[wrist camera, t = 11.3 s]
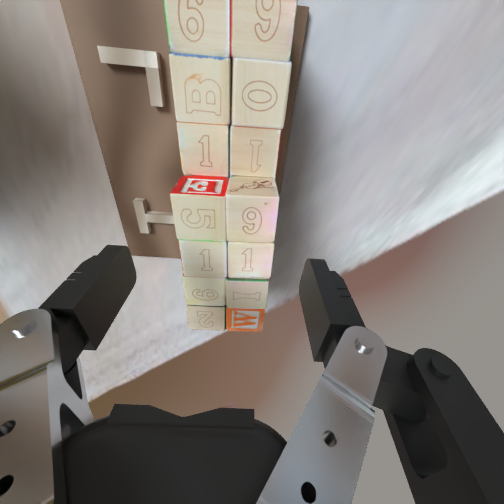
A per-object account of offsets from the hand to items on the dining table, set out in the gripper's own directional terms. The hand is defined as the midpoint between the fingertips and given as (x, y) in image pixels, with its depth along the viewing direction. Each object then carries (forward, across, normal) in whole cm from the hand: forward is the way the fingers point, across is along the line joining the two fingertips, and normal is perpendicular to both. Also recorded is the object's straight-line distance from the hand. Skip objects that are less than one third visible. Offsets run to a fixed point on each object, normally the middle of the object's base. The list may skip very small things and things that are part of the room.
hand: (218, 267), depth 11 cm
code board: (+16, +4, 0) cm, 17 cm away
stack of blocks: (+16, 0, 0) cm, 16 cm away
